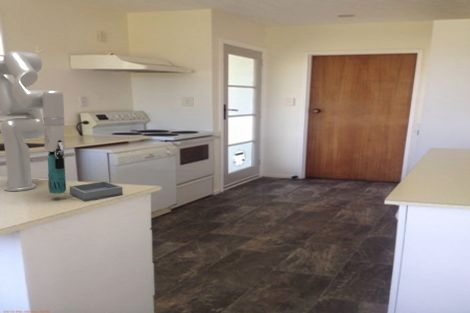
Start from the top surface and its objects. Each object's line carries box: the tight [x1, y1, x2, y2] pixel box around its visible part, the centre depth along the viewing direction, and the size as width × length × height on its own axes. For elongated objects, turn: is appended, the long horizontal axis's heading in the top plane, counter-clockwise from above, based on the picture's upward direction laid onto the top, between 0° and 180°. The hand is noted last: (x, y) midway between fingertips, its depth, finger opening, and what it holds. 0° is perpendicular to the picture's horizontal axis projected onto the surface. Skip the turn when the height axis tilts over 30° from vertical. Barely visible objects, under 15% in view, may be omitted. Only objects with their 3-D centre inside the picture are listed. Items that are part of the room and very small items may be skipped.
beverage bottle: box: [47, 150, 67, 194], centre depth 156 cm, size 6×7×20 cm
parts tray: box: [69, 180, 123, 202], centre depth 164 cm, size 16×16×4 cm
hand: (56, 166), depth 156 cm, fingers closed on beverage bottle, 6 cm apart
